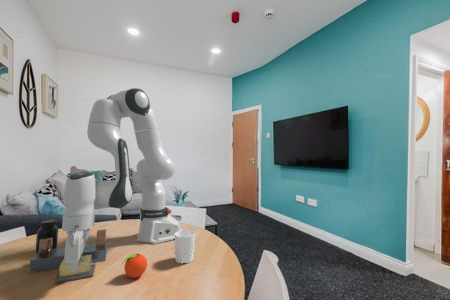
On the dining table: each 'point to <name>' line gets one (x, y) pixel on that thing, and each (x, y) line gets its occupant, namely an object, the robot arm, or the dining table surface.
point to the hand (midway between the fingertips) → (76, 264)
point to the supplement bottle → (47, 233)
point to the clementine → (135, 265)
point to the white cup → (184, 246)
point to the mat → (75, 276)
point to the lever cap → (83, 267)
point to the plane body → (54, 257)
